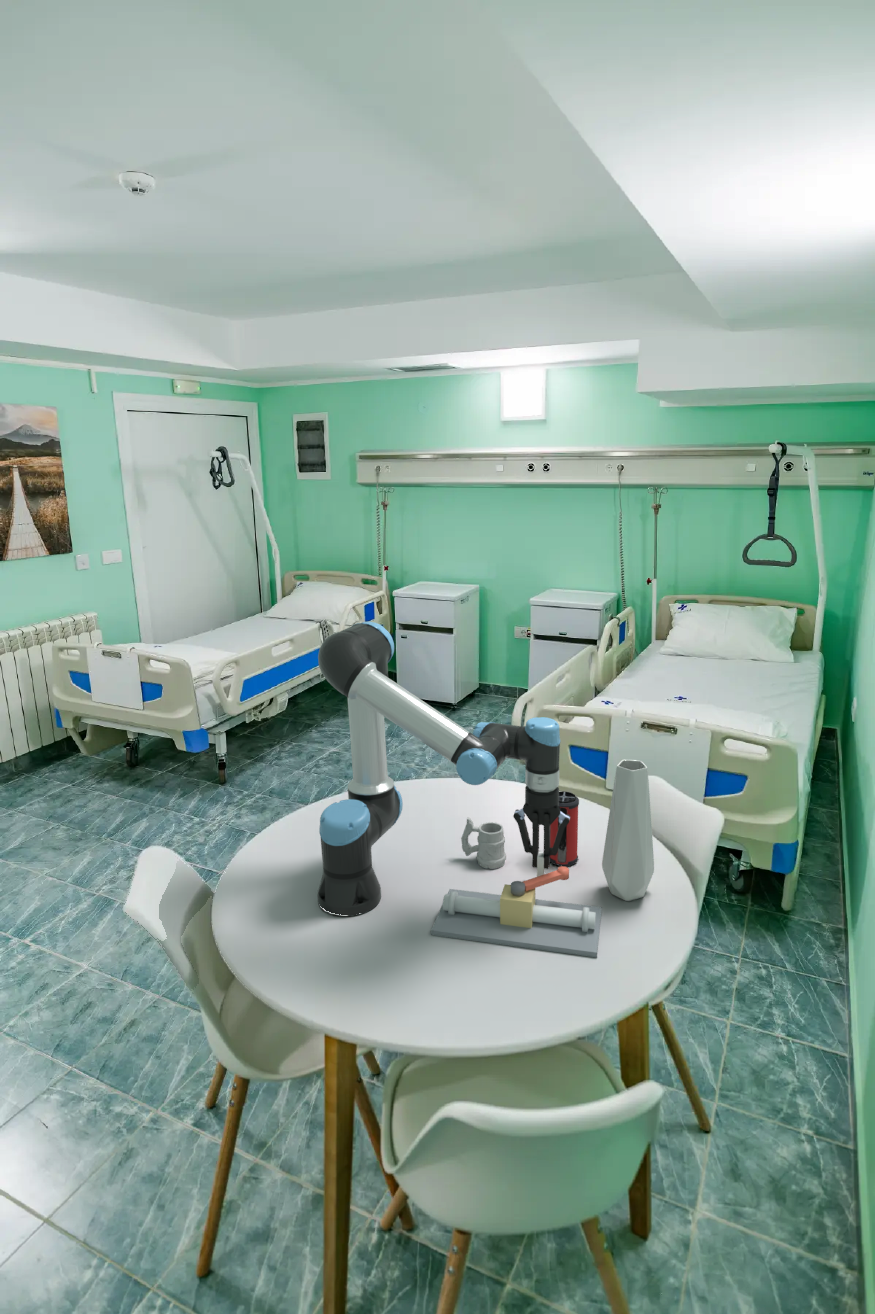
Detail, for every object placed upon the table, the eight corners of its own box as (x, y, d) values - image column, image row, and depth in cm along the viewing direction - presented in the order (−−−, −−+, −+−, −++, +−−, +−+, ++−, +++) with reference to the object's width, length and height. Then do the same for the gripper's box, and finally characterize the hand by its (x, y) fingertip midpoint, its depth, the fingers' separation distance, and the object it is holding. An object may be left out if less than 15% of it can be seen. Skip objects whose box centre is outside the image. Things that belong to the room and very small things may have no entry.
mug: (503, 871, 192) (503, 828, 189) (458, 866, 195) (457, 824, 192) (508, 856, 199) (508, 814, 196) (464, 851, 202) (464, 810, 199)
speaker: (546, 865, 194) (547, 801, 189) (549, 851, 201) (549, 788, 197) (576, 868, 192) (578, 804, 187) (578, 853, 199) (579, 791, 195)
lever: (515, 897, 166) (515, 889, 166) (507, 891, 169) (507, 883, 169) (572, 878, 173) (572, 870, 173) (563, 872, 176) (563, 864, 175)
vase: (609, 874, 189) (613, 751, 181) (655, 885, 183) (662, 759, 175) (593, 898, 179) (596, 769, 171) (641, 911, 173) (647, 778, 165)
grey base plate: (431, 934, 167) (430, 904, 165) (449, 893, 183) (449, 865, 181) (596, 957, 158) (597, 925, 156) (601, 911, 174) (602, 882, 172)
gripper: (510, 790, 168) (510, 884, 174) (569, 795, 164) (567, 891, 170) (516, 776, 175) (515, 868, 181) (572, 781, 171) (570, 874, 177)
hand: (540, 879), depth 175 cm, fingers closed
